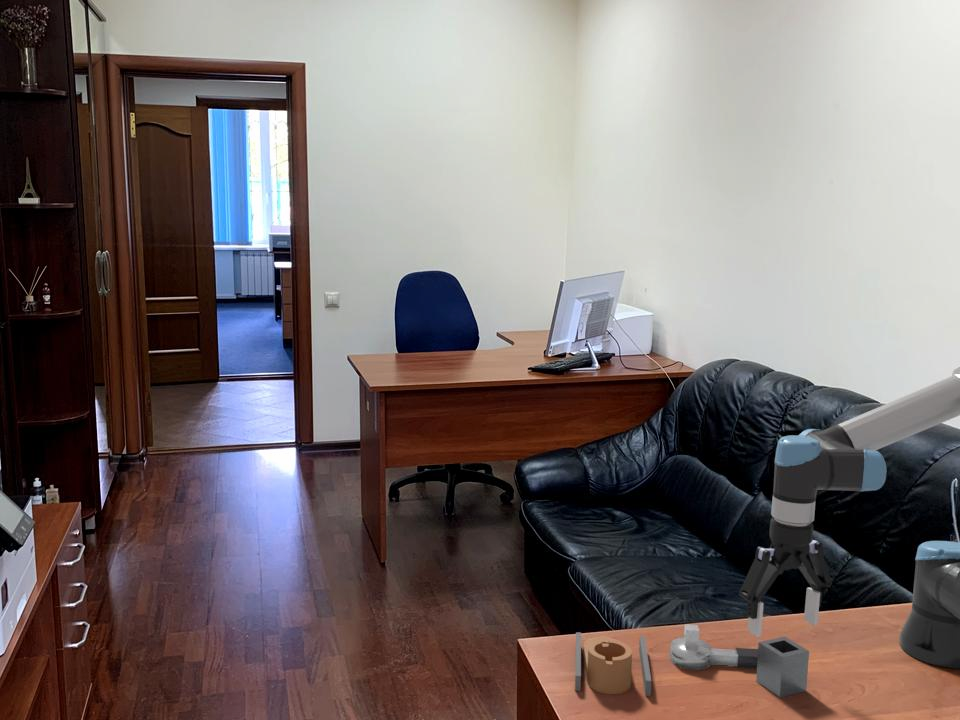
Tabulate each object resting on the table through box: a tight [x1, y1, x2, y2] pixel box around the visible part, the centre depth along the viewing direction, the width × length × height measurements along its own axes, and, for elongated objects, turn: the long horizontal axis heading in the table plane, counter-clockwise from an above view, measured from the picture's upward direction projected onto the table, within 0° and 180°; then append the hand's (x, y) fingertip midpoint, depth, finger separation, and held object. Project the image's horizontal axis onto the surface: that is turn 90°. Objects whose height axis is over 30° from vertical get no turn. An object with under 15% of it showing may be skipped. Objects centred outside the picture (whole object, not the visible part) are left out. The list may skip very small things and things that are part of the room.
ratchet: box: [669, 623, 758, 671], centre depth 176 cm, size 21×8×7 cm, turn 83°
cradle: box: [574, 631, 652, 697], centre depth 172 cm, size 14×18×3 cm
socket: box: [755, 636, 810, 698], centre depth 167 cm, size 6×6×8 cm
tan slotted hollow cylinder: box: [582, 636, 633, 695], centre depth 172 cm, size 18×8×7 cm, turn 178°
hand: (782, 628), depth 165 cm, fingers open, 13 cm apart
